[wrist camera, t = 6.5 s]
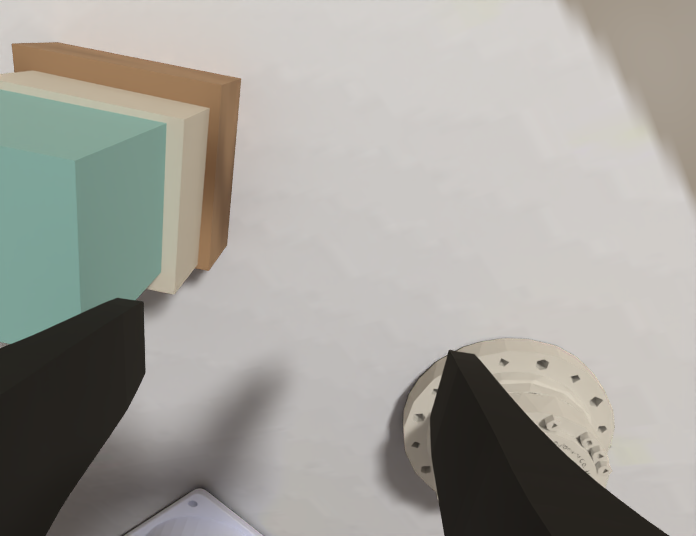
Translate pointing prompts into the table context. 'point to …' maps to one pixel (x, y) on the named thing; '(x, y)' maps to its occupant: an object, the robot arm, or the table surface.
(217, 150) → the slab base
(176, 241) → the slab top
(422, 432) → the mechanical component
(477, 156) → the table surface
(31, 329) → the cube
